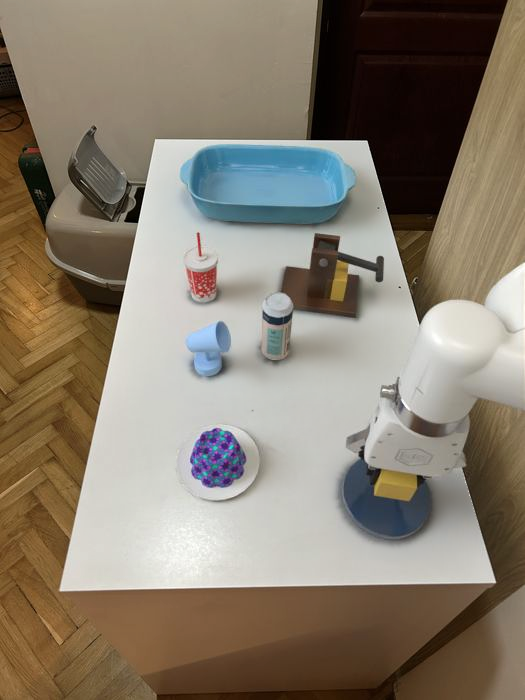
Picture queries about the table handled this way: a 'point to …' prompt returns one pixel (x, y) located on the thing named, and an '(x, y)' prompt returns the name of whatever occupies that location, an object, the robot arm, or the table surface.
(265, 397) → the table surface
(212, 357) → the spotlight
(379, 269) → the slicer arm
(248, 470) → the pudding
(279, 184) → the casserole dish
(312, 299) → the slicer
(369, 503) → the plate
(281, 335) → the supplement bottle
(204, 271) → the beverage cup
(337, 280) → the butter
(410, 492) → the butter pat
